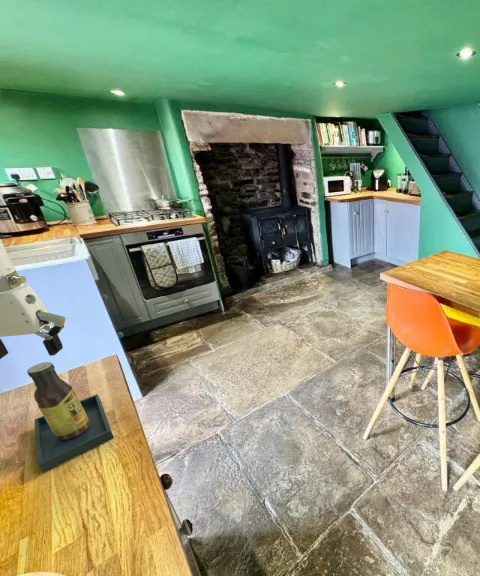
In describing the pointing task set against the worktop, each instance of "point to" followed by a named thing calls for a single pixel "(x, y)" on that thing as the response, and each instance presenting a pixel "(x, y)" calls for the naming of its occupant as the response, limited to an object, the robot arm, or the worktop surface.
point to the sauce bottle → (58, 402)
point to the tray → (63, 450)
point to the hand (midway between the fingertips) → (29, 354)
